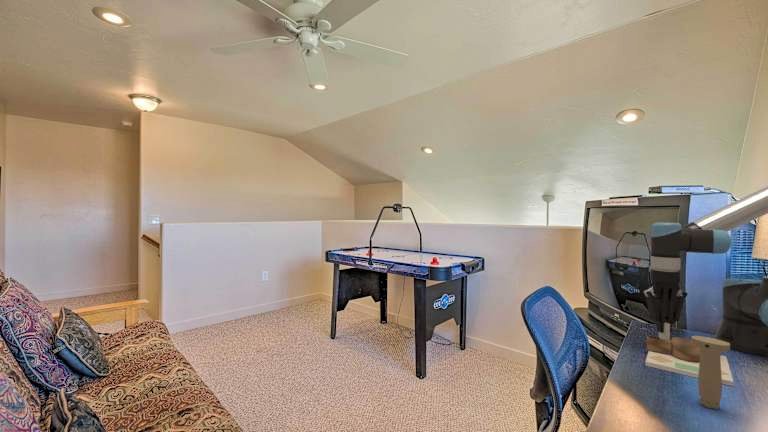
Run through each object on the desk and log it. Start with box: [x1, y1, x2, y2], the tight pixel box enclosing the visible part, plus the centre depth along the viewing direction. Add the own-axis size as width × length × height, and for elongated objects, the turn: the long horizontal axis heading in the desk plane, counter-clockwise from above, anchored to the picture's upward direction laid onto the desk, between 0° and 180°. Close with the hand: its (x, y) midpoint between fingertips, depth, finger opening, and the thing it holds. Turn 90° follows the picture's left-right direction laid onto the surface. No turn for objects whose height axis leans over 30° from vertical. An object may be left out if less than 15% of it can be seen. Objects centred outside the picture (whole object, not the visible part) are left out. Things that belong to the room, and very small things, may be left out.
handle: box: [691, 335, 731, 410], centre depth 79 cm, size 5×6×15 cm
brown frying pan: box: [646, 334, 700, 362], centre depth 105 cm, size 13×7×5 cm, turn 48°
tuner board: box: [644, 350, 734, 387], centre depth 102 cm, size 18×22×1 cm
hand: (663, 342), depth 111 cm, fingers closed
